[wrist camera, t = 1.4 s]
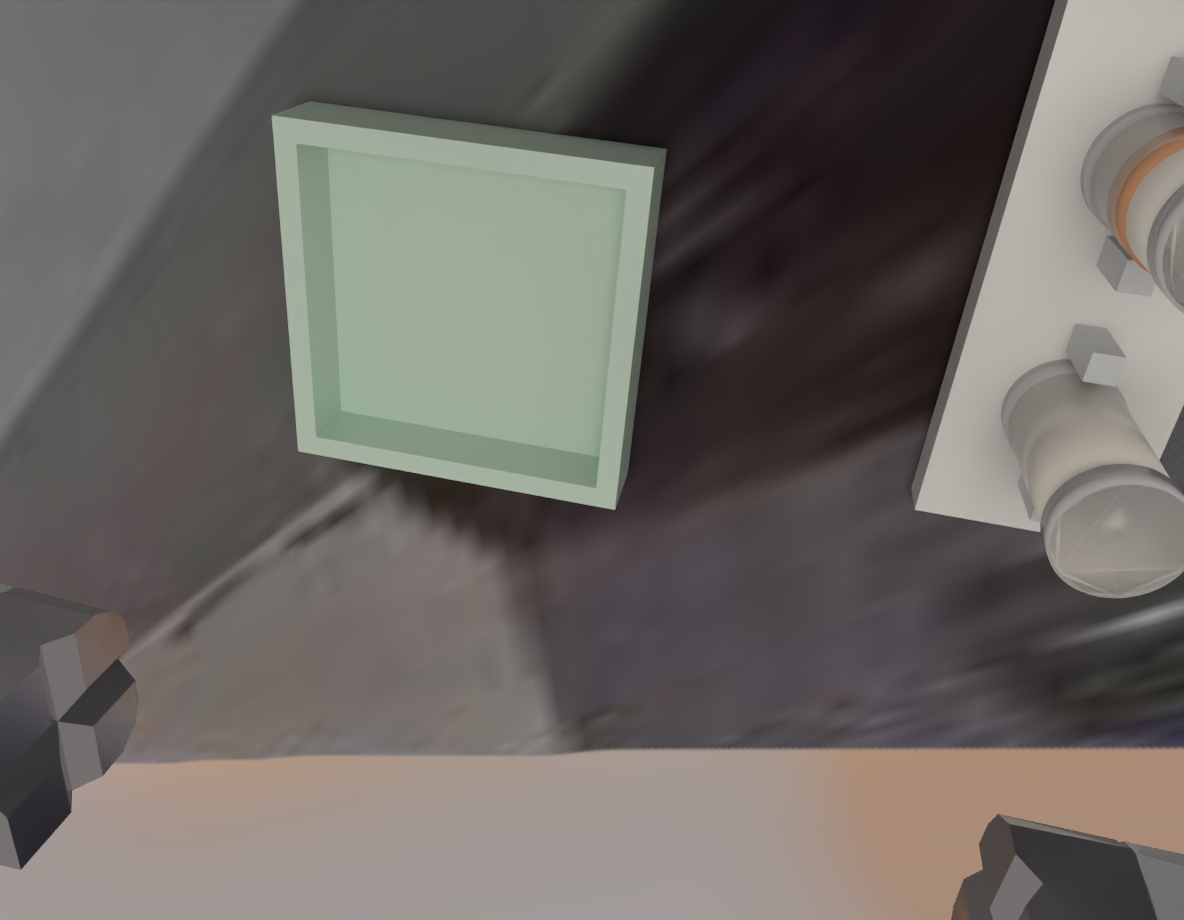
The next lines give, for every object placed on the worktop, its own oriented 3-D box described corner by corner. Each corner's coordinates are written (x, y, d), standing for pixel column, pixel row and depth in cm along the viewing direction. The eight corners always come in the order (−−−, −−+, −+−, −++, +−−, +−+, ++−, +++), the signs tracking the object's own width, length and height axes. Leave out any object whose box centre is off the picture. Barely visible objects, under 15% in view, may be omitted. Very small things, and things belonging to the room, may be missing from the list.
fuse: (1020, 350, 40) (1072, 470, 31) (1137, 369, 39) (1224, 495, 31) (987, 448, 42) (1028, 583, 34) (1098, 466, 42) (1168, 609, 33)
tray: (309, 100, 43) (271, 115, 40) (666, 148, 41) (654, 167, 38) (328, 419, 51) (298, 451, 48) (627, 473, 49) (614, 509, 46)
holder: (1170, -390, 30) (1227, -440, 26) (1491, -373, 29) (1607, -422, 25) (911, 487, 46) (920, 546, 42) (1110, 522, 45) (1140, 586, 41)
